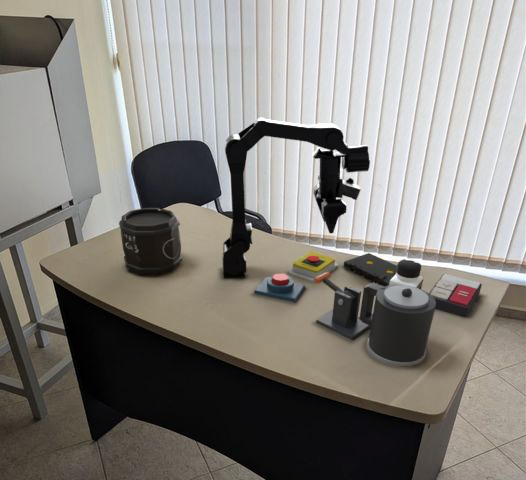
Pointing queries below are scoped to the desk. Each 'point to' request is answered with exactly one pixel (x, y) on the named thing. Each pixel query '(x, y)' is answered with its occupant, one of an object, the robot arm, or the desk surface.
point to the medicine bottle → (408, 274)
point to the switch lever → (332, 284)
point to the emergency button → (313, 266)
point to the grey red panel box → (455, 294)
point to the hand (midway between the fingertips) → (328, 227)
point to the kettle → (397, 322)
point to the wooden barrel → (151, 241)
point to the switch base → (345, 315)
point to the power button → (280, 279)
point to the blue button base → (280, 289)
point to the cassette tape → (372, 268)
